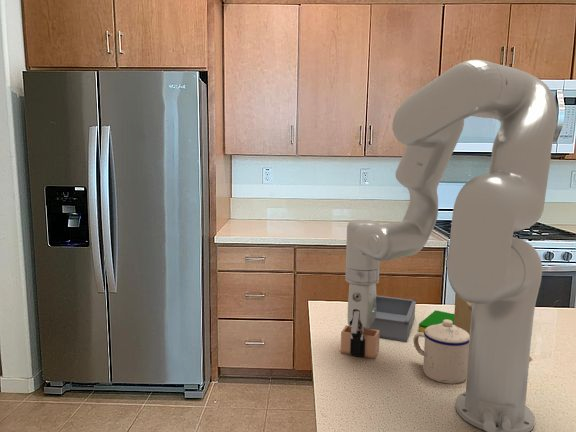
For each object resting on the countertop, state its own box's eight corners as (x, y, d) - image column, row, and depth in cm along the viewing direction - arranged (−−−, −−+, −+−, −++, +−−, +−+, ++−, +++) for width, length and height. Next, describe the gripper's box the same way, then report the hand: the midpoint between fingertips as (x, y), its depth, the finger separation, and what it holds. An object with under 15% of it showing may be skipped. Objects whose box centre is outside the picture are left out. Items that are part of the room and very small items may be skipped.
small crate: (375, 358, 99) (376, 337, 99) (340, 352, 102) (341, 332, 102) (378, 350, 104) (379, 330, 103) (345, 345, 107) (346, 325, 106)
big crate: (407, 342, 109) (408, 322, 108) (357, 334, 113) (358, 315, 112) (415, 317, 125) (416, 300, 125) (371, 311, 130) (372, 294, 129)
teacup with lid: (475, 375, 93) (479, 321, 91) (454, 390, 86) (458, 332, 85) (423, 355, 101) (426, 306, 100) (401, 368, 95) (404, 316, 94)
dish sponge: (460, 323, 123) (461, 315, 122) (445, 339, 112) (446, 330, 111) (435, 318, 127) (435, 309, 127) (417, 332, 116) (418, 323, 115)
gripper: (371, 286, 91) (368, 370, 94) (385, 267, 107) (382, 340, 109) (336, 282, 94) (334, 363, 97) (354, 264, 110) (352, 335, 112)
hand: (359, 350), depth 103 cm, fingers closed on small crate, 4 cm apart
